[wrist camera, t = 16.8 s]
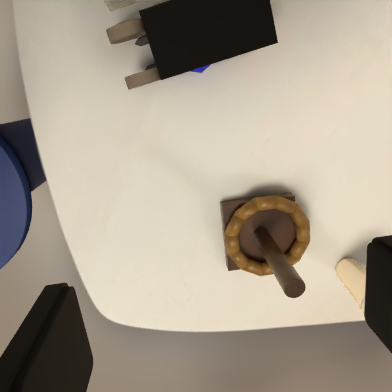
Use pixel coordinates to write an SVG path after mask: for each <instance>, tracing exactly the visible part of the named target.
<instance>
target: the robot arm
mask: <svg viewBox="0 0 392 392" xmlns="http://www.w3.org/2000/svg"><path fill="white" fill-rule="evenodd" d="M364 316H365V320H366V322H367V324H368V326H369V327H370V328H371V329H372V330H373V332H374V333H375V334H376V335H377V336H378V337H379V339H380V340H381V341H382V342H383V343H384V345H385V346H386V347H387V348H388V349H389V350H390V352H391V353H392V235H390V236H383V237H376V238H374V239H373V240H372V243H369V244H368V246H367V262H366V285H365V307H364ZM92 368H93V356H92V352H91V348H90V344H89V341H88V337H87V333H86V329H85V326H84V322H83V318H82V314H81V311H80V307H79V303H78V299H77V296H76V292H75V289H74V287H69V286H68V285H67V283H60V284H53V285H47V286H45V288H44V289H43V291H42V292H41V294H40V295H39V297H38V299H37V300H36V302H35V303H34V305H33V307H32V308H31V310H30V311H29V313H28V315H27V316H26V318H25V319H24V321H23V323H22V324H21V326H20V327H19V329H18V331H17V332H16V334H15V335H14V337H13V338H12V340H11V341H10V343H9V345H8V346H7V348H6V350H5V351H4V353H3V354H2V356H1V357H0V392H86V390H87V386H88V383H89V379H90V376H91V372H92Z"/></svg>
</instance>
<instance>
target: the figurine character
mask: <svg viewBox="0 0 392 392" xmlns="http://www.w3.org/2000/svg"><path fill="white" fill-rule="evenodd" d="M139 13H140V16H141V18H139V19H133V20H129V21H125V22H122V23H119V24H116V25H114V26H112V27H110V28H108V29H107V30H106V32H107V34H108V37H109V40H110V43H111V44H116V43H121V42H125V41H128V40H131V39H134V38H137V37H139V36H142V35H144V34H145V33H146V36H143V37H141V38H138V40H137V41H136V43H135V44H136V45H139V46H143V45H145V44H148V43H149V44H150V47H151V51H152V54H153V57H154V60H155V64H152V65H150V66H147V68H146V69H145V71H142V72H139V73H136V74H133V75H130V76H128V77H125V80H126V83H127V86H128V89H132V88H135V87H139V86H142V85H145V84H148V83H151V82H154V81H157V80H160V79H161V80H163V79H166V78H169V77H172V76H175V75H179V74H182V73H185V72H188V71H191V72H200V73H201V72H203V71H204V70H205V69H206V68H207V67H208V66H209V65H211V64H213V63H216V62H219V61H222V60H225V59H229V58H232V57H235V56H238V55H241V54H244V53H247V52H250V51H253V50H257V49H260V48H263V47H266V46H269V45H272V44H275V43H278V41H277V35H276V30H275V25H274V20H273V15H272V9H271V4H270V0H170V1H167V2H164V3H161V4H158V5H155V6H152V7H149V8H146V9H143V10H140V11H139Z"/></svg>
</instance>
